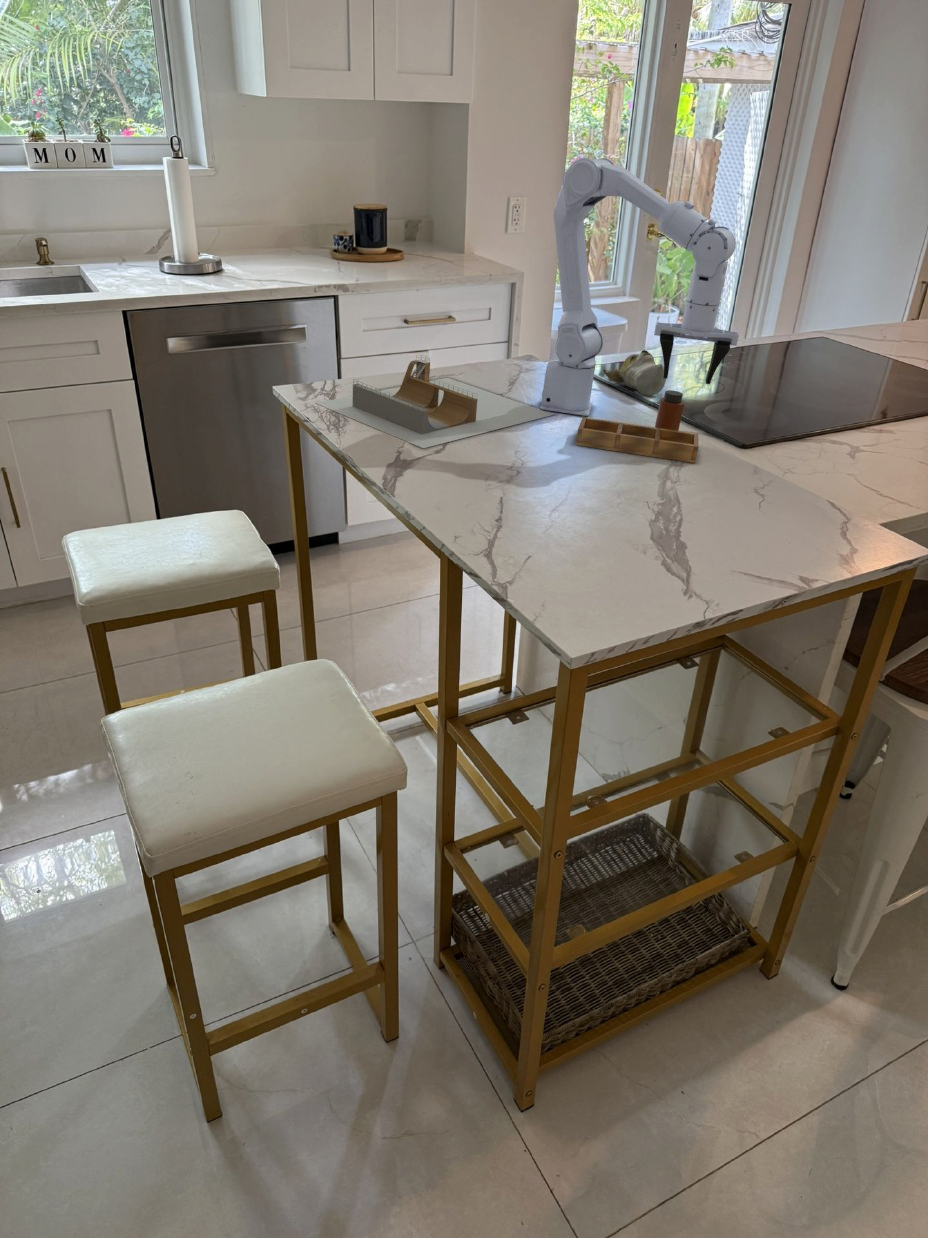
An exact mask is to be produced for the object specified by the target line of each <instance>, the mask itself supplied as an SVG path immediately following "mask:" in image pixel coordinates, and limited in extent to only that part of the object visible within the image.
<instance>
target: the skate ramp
mask: <svg viewBox="0 0 928 1238" xmlns="http://www.w3.org/2000/svg"><path fill="white" fill-rule="evenodd" d="M419 358H420V359H419ZM414 367H415V370H414ZM430 372H431V357H429V356H426V355H423V354H420V357H419V354H417V355H416V358H415V359H414V360H411V361H410V362H409V363H408V365H407V368H406V371H405V374H404V376H403V379H402V383H401V385H400V386H397V387H392V388H387V389H379V388H378V387H375V386H372V385H369V384H366V383H365V385H364V383H363V382H361V381H360V380H356V378H354V379H353V384H352V395H350V396H345V397H339V398H334V399H329V400H324V401H319V402H315V404H316V405H319V406H321V407H324V408H326V409H328V410H331V411H333V412H336V413H337V414H341V415H343V416H346V417H348V418H350V419H353V420H355V421H357V422H359V423H362V424H364V425H367V426H369V427H372V428H373V429H376V430H378V431H381V432H383V433H385V434H388V435H390V436H393V437H396V438H398V439H399V440H403V441H405V442H407V443H409V444H412V445H415V446H417V447H419V448H421V449H427V448H431V447H435V446H438V445H442V444H446V443H450V442H453V441H457V440H462V439H465V438H468V437H469V438H470V437H473V436H476V435H477V436H478V435H480V434H485V433H488V432H493V431H496V430H499V429H504V428H507V427H511V426H512V427H513V426H516V425H519V424H524V423H528V422H531V421H535V420H538V419H543V418H546V417H550V416H554V415H555V414H554V413H551V412H548V411H546V410H542V409H541V408H537V407H533V406H531V405H529V404H525V403H522V402H520V401H516V400H513V399H510V398H508V397H504V396H502V395H500V394H496V393H493V392H490V391H488V390H484V389H481V388H479V387H476V386H474V385H473V386H472V385H470V384H468V383H464V382H461V381H458V380H455V379H452V378H449V377H444V378H440V379H435V378H433V379H432V380H430V379H431V376H430ZM360 383H361V384H360ZM373 388H374V389H373ZM377 389H378V390H377Z"/></svg>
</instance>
